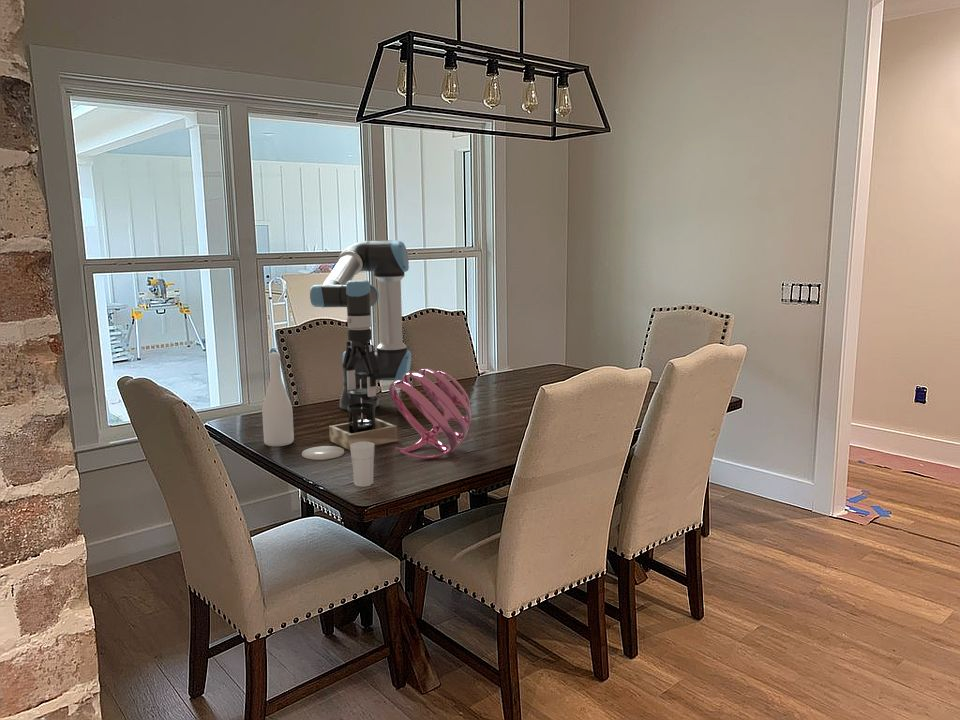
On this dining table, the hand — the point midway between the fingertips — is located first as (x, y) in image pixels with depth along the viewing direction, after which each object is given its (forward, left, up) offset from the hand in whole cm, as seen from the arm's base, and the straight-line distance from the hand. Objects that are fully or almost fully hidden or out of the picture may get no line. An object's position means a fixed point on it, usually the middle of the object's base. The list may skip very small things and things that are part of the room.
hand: (361, 393), depth 249 cm
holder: (0, 0, -16) cm, 16 cm away
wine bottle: (-15, -23, -16) cm, 32 cm away
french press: (0, 0, -16) cm, 16 cm away
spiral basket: (+26, +10, -17) cm, 32 cm away
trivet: (+5, -17, -16) cm, 24 cm away
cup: (+38, -21, -16) cm, 46 cm away
